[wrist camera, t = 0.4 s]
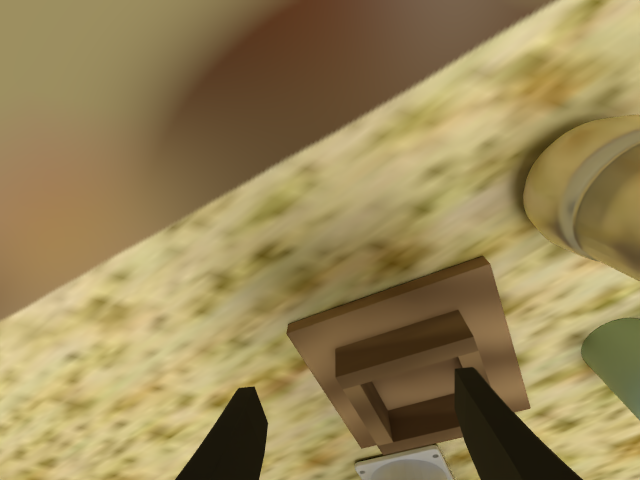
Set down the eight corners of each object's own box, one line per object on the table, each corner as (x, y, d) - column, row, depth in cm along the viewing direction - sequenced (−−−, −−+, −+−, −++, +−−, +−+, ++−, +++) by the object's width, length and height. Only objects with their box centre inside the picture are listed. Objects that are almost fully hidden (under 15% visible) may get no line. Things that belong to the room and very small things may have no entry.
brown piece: (523, 396, 25) (550, 441, 22) (360, 437, 28) (363, 480, 25) (482, 256, 20) (511, 287, 17) (288, 324, 23) (280, 361, 20)
